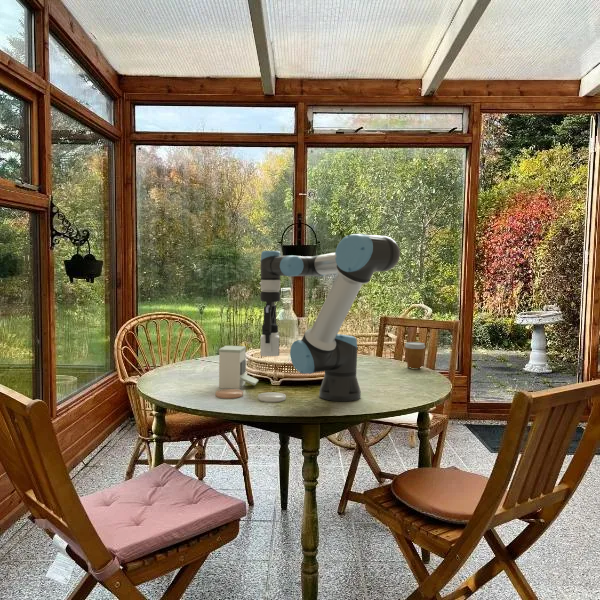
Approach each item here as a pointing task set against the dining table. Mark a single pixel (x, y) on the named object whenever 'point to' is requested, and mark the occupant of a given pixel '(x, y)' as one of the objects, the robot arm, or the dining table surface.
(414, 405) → the dining table surface
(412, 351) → the disposable coffee cup
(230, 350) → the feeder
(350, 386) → the robot arm
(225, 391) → the peach round disc
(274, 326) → the medicine bottle
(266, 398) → the white domed round part
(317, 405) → the dining table surface
